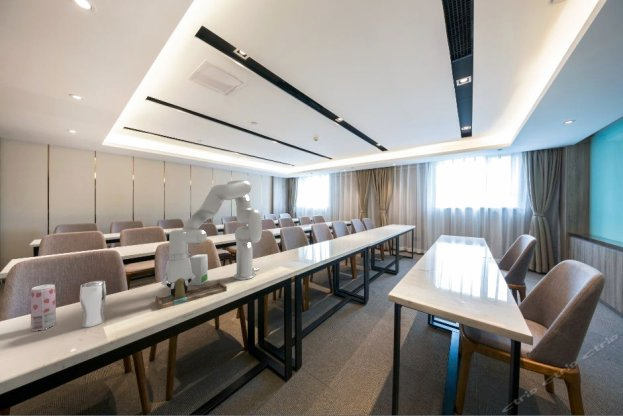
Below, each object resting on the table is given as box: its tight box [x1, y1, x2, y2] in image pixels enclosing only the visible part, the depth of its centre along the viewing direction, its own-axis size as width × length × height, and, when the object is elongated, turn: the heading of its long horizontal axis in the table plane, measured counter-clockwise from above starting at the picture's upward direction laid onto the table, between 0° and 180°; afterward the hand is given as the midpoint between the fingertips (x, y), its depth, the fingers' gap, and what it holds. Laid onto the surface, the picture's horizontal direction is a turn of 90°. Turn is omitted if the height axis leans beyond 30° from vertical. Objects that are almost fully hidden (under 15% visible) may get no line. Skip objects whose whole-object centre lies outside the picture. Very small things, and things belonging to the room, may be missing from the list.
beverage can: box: [30, 283, 57, 332], centre depth 78 cm, size 6×6×15 cm
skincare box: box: [189, 254, 209, 286], centre depth 123 cm, size 8×7×16 cm
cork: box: [171, 278, 187, 302], centre depth 102 cm, size 6×6×11 cm
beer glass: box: [79, 280, 107, 328], centre depth 81 cm, size 7×7×15 cm
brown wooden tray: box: [154, 280, 227, 310], centre depth 106 cm, size 29×11×2 cm, turn 134°
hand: (179, 294), depth 102 cm, fingers closed on cork, 4 cm apart
